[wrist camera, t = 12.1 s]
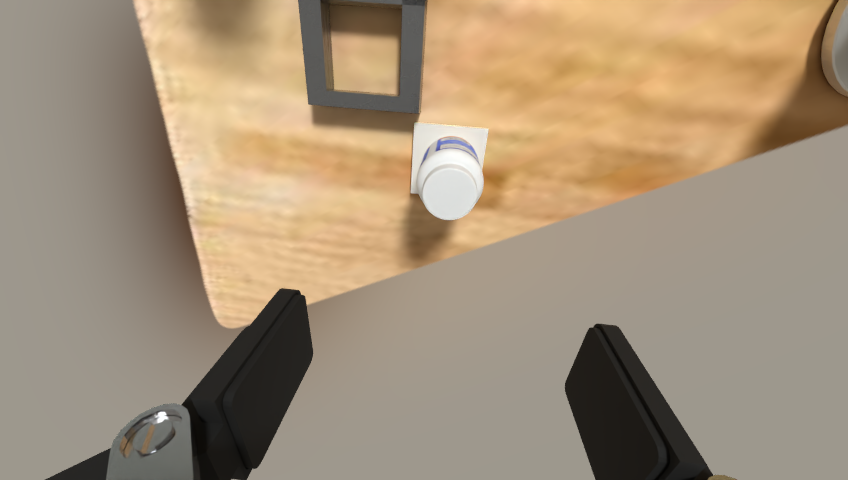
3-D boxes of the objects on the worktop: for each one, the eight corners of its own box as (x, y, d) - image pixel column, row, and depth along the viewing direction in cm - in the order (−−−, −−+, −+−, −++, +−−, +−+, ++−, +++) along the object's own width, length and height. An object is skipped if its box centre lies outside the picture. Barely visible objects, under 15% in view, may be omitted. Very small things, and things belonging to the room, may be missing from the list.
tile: (487, 128, 30) (488, 129, 29) (476, 197, 33) (477, 199, 33) (414, 122, 30) (414, 122, 30) (411, 191, 33) (410, 193, 33)
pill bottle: (445, 199, 33) (442, 243, 24) (412, 158, 31) (396, 191, 23) (489, 167, 31) (502, 202, 22) (455, 122, 29) (457, 142, 21)
